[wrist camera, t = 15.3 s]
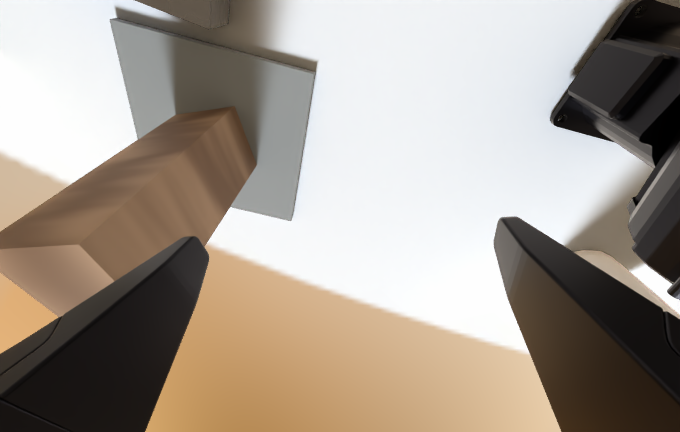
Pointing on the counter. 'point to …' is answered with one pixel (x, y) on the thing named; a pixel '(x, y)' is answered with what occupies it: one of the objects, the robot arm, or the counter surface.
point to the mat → (222, 103)
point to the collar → (195, 10)
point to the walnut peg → (129, 209)
